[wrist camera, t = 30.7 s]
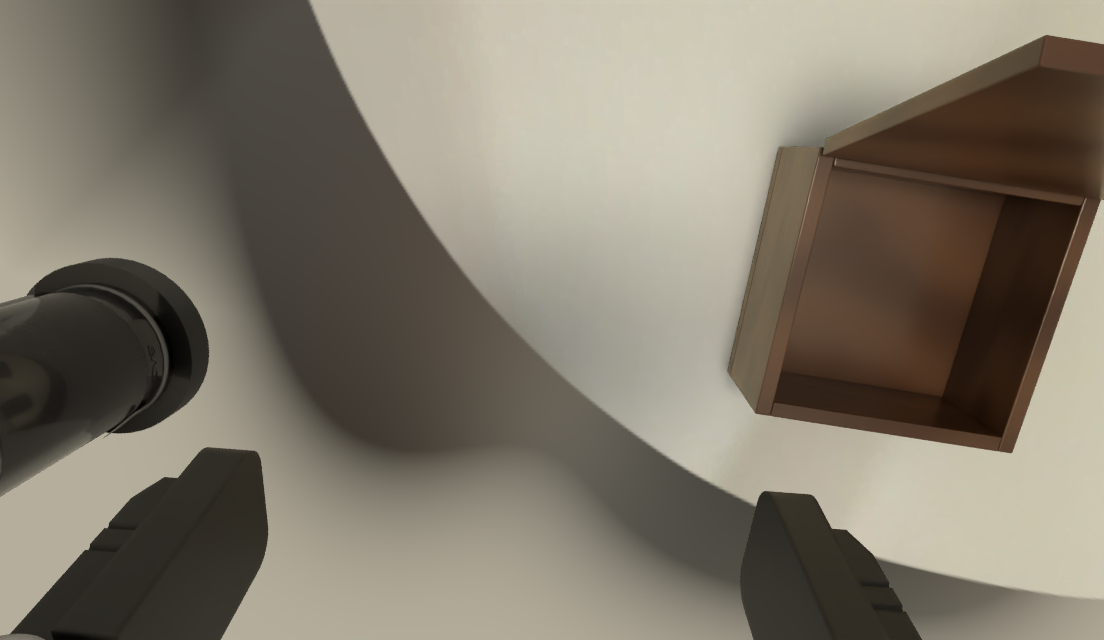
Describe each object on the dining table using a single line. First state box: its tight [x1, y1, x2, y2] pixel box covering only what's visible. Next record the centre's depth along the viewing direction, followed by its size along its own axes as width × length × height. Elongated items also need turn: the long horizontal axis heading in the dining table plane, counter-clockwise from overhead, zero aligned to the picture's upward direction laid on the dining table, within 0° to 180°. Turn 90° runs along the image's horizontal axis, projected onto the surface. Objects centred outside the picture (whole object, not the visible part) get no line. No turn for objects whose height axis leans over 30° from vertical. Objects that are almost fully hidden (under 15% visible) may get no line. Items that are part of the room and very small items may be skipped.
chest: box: [728, 147, 1101, 453], centre depth 37 cm, size 14×14×7 cm
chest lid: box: [823, 35, 1104, 200], centre depth 25 cm, size 14×14×1 cm
